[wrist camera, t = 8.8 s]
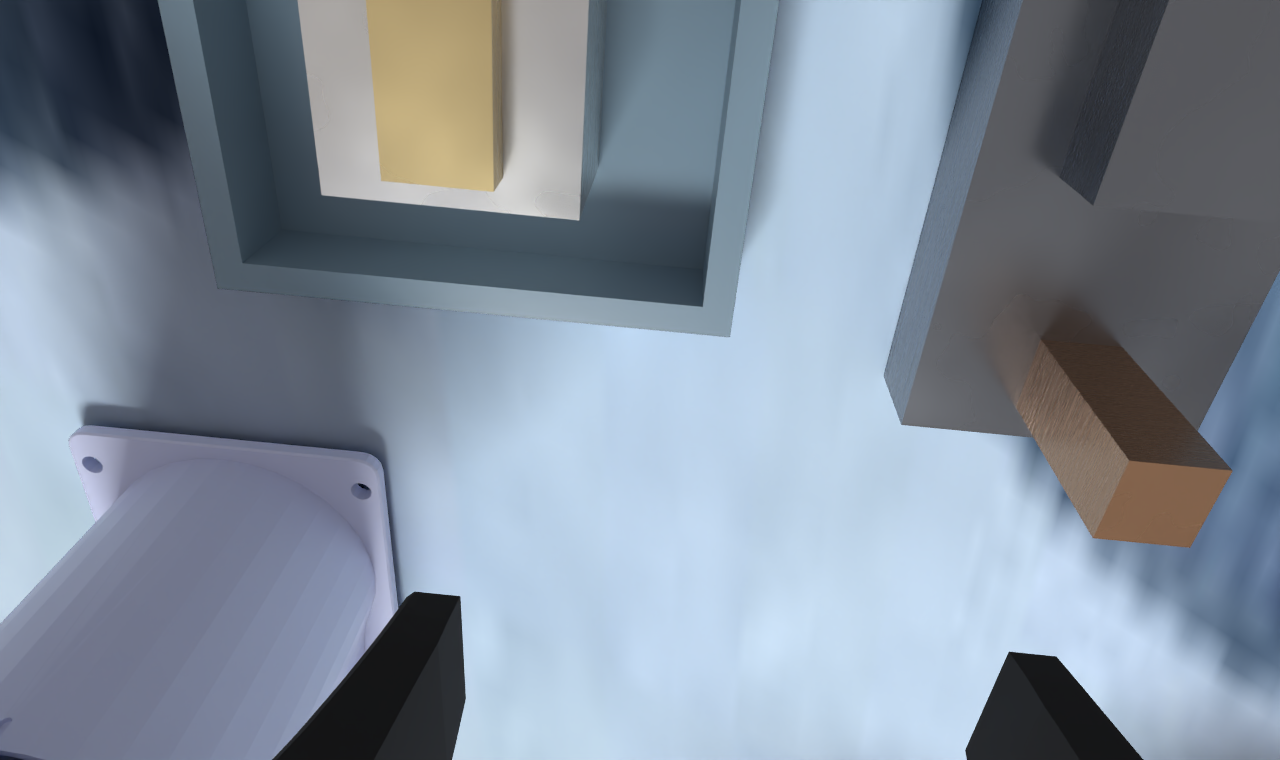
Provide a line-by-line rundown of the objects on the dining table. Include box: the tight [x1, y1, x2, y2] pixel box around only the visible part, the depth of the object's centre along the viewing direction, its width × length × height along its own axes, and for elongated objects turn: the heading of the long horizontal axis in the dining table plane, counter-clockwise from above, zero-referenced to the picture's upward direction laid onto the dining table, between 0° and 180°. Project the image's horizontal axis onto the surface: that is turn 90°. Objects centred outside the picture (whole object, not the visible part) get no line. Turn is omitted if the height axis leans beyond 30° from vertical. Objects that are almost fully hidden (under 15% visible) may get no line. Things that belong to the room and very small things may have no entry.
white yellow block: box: [298, 0, 607, 220], centre depth 14 cm, size 6×4×4 cm
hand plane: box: [884, 0, 1280, 548], centre depth 13 cm, size 15×6×6 cm, turn 176°
